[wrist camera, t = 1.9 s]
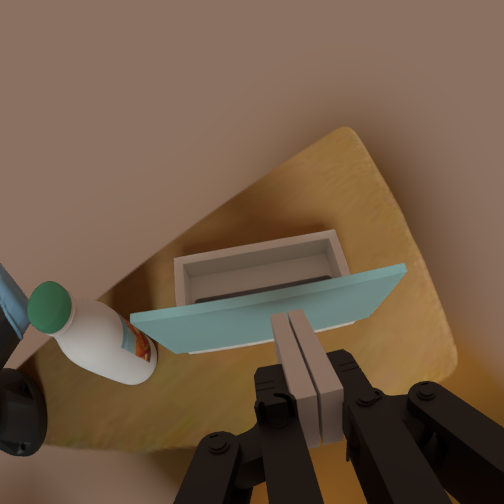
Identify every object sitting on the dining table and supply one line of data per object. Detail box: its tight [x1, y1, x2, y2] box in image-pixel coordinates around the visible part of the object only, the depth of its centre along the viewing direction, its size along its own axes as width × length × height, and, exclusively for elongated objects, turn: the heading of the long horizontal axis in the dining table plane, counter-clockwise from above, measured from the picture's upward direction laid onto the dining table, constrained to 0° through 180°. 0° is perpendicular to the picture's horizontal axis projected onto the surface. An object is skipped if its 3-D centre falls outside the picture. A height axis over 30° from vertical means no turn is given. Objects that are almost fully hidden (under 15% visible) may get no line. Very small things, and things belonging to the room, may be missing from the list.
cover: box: [130, 263, 407, 354], centre depth 29 cm, size 23×13×1 cm
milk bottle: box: [27, 281, 157, 385], centre depth 30 cm, size 8×8×20 cm
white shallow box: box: [174, 229, 355, 354], centre depth 40 cm, size 22×12×5 cm, turn 99°
